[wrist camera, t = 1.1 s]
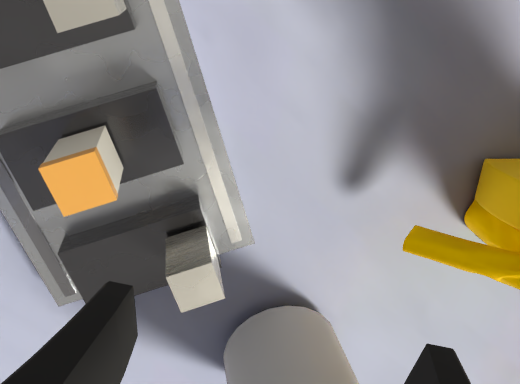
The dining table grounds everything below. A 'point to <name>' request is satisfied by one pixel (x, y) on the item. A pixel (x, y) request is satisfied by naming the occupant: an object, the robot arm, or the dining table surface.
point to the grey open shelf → (126, 144)
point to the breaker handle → (83, 171)
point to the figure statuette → (482, 228)
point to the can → (286, 350)
